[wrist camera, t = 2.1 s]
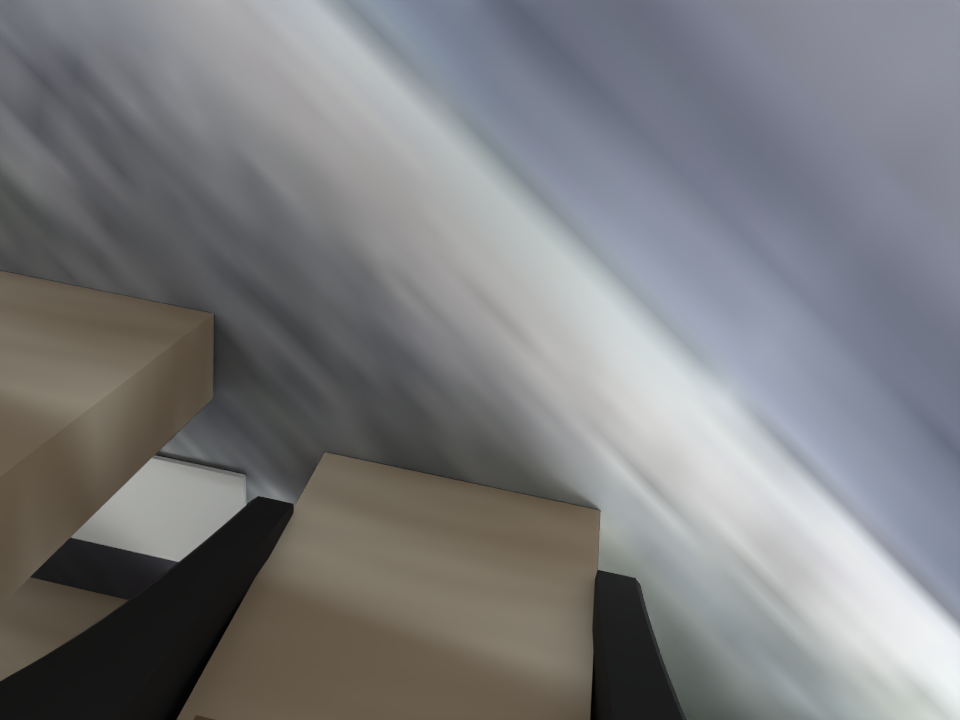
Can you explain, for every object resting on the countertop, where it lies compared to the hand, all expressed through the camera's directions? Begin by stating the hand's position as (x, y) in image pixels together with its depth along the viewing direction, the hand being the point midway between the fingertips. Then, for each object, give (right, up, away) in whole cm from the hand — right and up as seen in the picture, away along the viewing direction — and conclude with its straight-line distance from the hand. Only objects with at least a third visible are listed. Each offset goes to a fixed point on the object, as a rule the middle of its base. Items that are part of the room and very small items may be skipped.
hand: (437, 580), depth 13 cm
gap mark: (-7, +1, +3) cm, 7 cm away
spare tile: (0, +1, +1) cm, 2 cm away
